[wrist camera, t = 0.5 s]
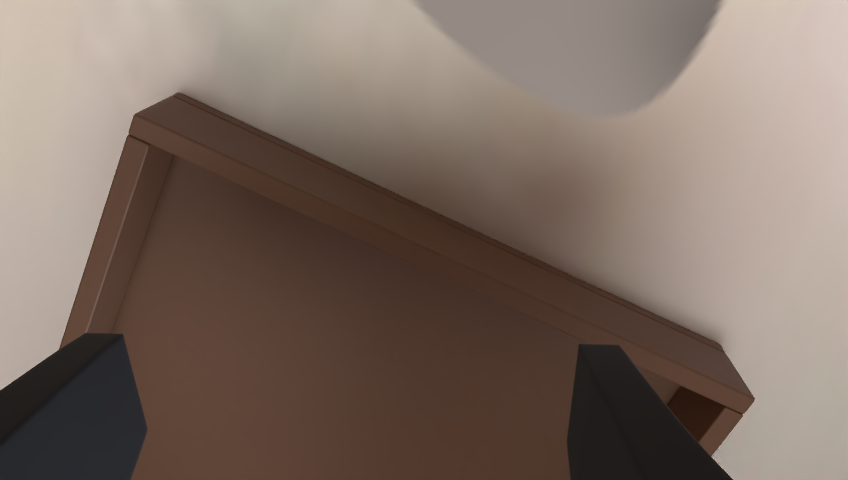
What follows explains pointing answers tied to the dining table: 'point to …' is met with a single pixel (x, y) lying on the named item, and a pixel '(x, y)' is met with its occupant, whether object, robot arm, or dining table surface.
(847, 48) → the dining table surface
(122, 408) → the robot arm
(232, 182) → the tray
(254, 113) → the dining table surface
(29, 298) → the dining table surface
